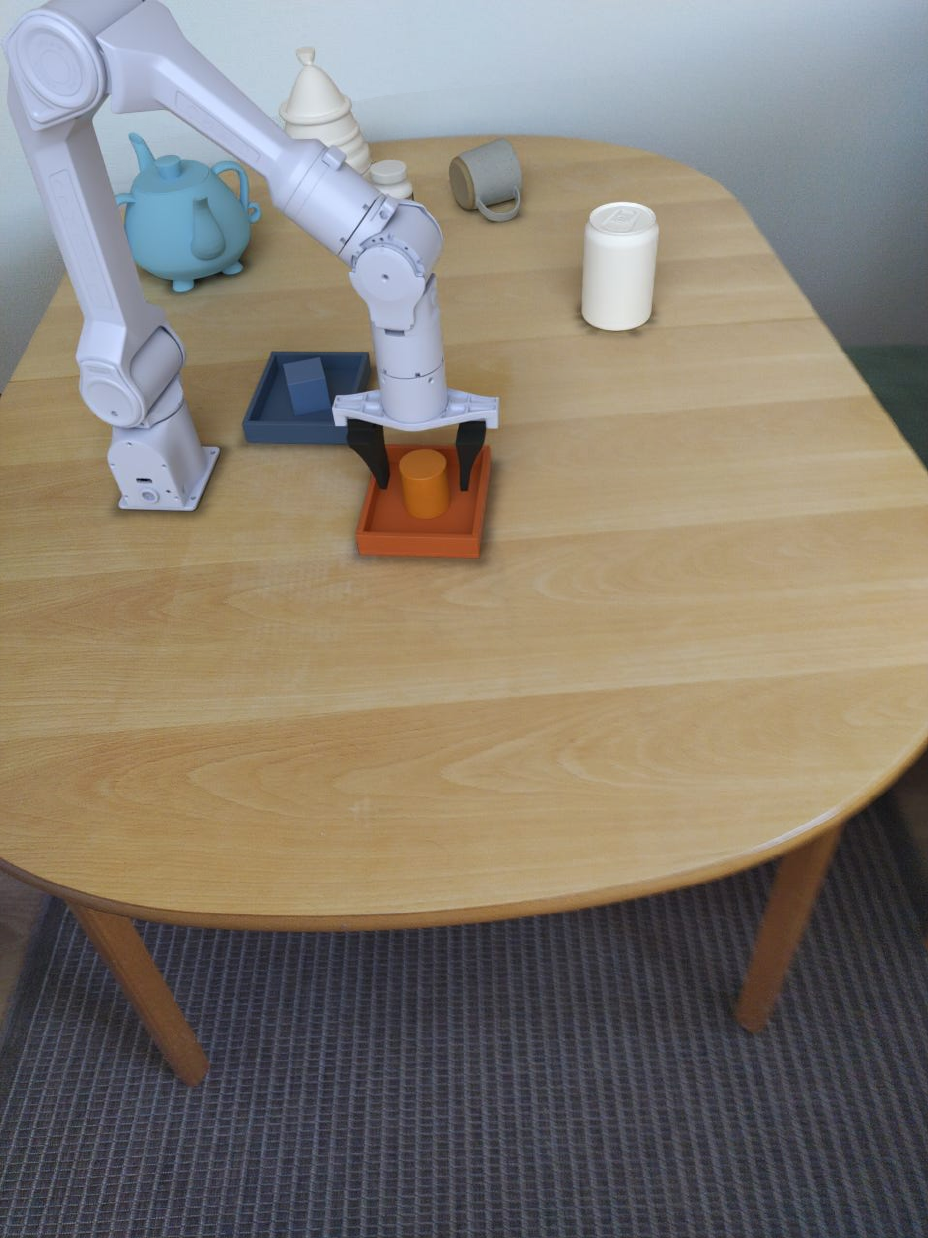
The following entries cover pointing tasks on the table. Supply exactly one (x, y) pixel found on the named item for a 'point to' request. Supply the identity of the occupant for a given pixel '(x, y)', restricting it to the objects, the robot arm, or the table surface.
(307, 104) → the honey pot
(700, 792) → the table surface
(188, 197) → the teapot
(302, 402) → the blue block
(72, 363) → the table surface
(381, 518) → the orange tray
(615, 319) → the beverage can
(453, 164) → the ceramic mug
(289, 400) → the blue tray
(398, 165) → the pill bottle
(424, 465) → the amber cylinder
